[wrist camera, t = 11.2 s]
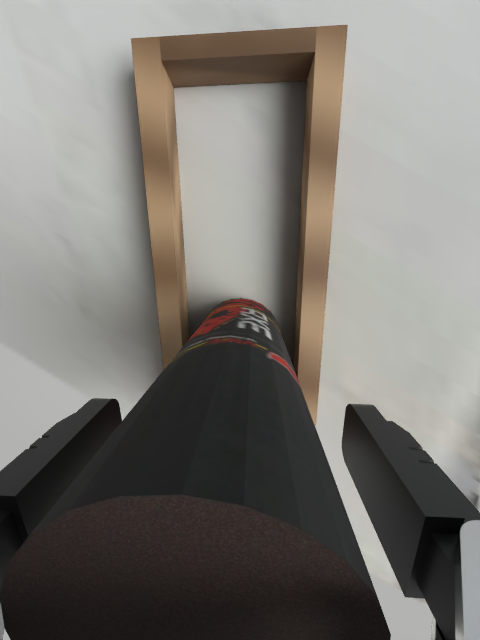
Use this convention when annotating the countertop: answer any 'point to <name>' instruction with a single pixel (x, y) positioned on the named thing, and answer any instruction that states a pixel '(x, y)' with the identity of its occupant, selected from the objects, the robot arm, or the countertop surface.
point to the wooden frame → (317, 175)
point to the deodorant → (201, 513)
